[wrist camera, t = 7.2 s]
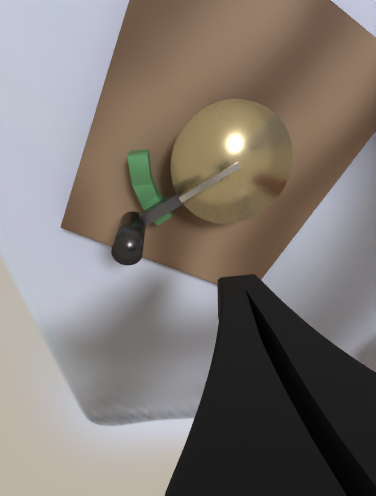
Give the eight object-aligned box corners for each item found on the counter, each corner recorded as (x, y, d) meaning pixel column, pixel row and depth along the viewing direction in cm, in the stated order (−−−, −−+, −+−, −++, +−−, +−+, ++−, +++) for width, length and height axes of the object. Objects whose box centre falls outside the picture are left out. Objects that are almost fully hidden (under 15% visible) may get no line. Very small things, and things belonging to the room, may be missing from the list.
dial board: (402, 74, 15) (446, 72, 13) (244, 285, 22) (254, 310, 20) (169, -113, 11) (171, -166, 9) (66, 218, 18) (51, 240, 16)
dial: (260, 69, 12) (288, 66, 9) (303, 183, 15) (333, 206, 12) (86, 184, 14) (68, 209, 11) (153, 265, 17) (151, 300, 14)
